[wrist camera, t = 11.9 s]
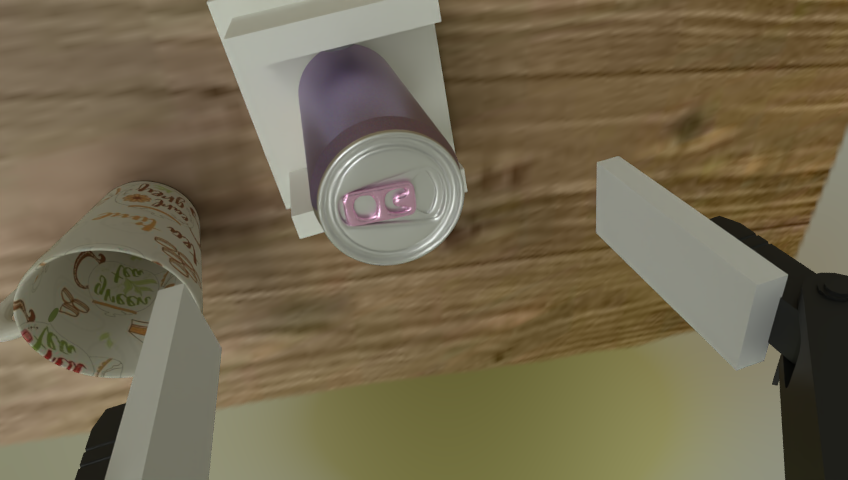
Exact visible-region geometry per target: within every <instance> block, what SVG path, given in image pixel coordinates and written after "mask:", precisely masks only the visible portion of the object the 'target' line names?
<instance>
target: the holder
mask: <svg viewBox="0 0 848 480" xmlns="http://www.w3.org/2000/svg"><path fill="white" fill-rule="evenodd" d="M207 5H208V7H209V10H210V12H211V15H212V18H213V20H214V23H215V25H216V28H217V31H218V33H219V36H220V38H221V41H222V44H223V46H224V49H225V51H226V54H227V57H228V59H229V62H230V64H231V67H232V69H233V72H234V75H235V77H236V80H237V82H238V85H239V88H240V90H241V93H242V95H243V98H244V101H245V103H246V106H247V108H248V111H249V114H250V116H251V119H252V121H253V124H254V127H255V129H256V132H257V134H258V137H259V140H260V142H261V145H262V147H263V150H264V153H265V155H266V158H267V160H268V163H269V165H270V168H271V171H272V173H273V176H274V178H275V181H276V184H277V186H278V189H279V191H280V194H281V197H282V199H283V202H284V204H285V207H286V209H289V208H291V217H292V220H293V222H294V225H295V227H296V230H297V233H298V235H299V238H300V239H302V238H305V237H309V236H312V235H316V234H319V233H323V232H324V230H323V228H322V226H321V225H320V223H319V222H318V220H317V218H316V216H315V214H314V211H313V208H312V204H311V198H310V189H309V181H308V173H307V164H306V156H305V148H304V139H303V131H302V123H301V114H300V106H299V97H298V89H299V82H300V79H301V76H302V73H303V71H304V69H305V68H306V66H307V64H308V63H309V62H310V61H311V60H312V59H313V58H314V57H315V56H316V55H317V54H318V53H320V52H321V51H325V52H333V51H339V50H343V49H346V48H349V47H351V46H353V45H354V44H357V45H361V46H364V47H367V48H369V49H371V50H373V51H375V52H376V53H378V54H379V55H380V56H381V57H383V58H384V59H385V60H386V62H387V63H388V64H389V65H390V67H391V68H392V69H393V71H394V72H395V73H396V75H397V76H398V77H399V79H400V80H401V81H402V82H403V84H404V85H405V86H406V88H407V89H408V90H409V92H410V93H411V94H412V96H413V97H414V98H415V99H416V101H417V102H418V103H419V105H420V106H421V107H422V109H423V110H424V111H425V113H426V114H427V115H428V116H429V118H430V119H431V120H432V122H433V123H434V124H435V126H436V127H437V128H438V130H439V131H440V132H441V134H442V135H443V136H444V137H445V139H446V140H447V141H448V143H449V144H450V145H451V147H452V149H453V150H454V152H455V149H454V142H453V136H452V130H451V124H450V117H449V111H448V105H447V99H446V93H445V86H444V80H443V74H442V68H441V61H440V55H439V49H438V43H437V37H436V30H435V24H434V23H438V22H441V16H440V9H439V3H438V0H208V1H207ZM458 162H459V161H458ZM459 166H460V171H461V174H462V177H463V182H464V192H467V185H466V179H465V172H464V168H463V167H462V165H461V164H460V163H459Z"/></svg>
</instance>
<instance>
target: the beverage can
mask: <svg viewBox="0 0 848 480" xmlns="http://www.w3.org/2000/svg"><path fill="white" fill-rule="evenodd" d="M298 97H299V106H300V114H301V123H302V131H303V139H304V148H305V156H306V164H307V173H308V181H309V189H310V198H311V204H312V208H313V211H314V214H315V216H316V218H317V220H318V222H319V223H320V225H321V226H322V228H323V230H324V232H325V234H326V236H327V237H328V238H329V240H330V241H331V242H332V243H333V245H334V246H335V247H337V248H338V249H339V250H340V251H341V252H343V253H344V254H346V255H347V256H349V257H351V258H353V259H355V260H358V261H361V262H364V263H368V264H373V265H397V264H402V263H406V262H410V261H413V260H415V259H418V258H420V257H422V256H424V255H426V254H427V253H429V252H431V251H432V250H433V249H435V248H436V247H437V246H439V245H440V244H441V243H442V242H443V241H444V240H445V239H446V238H447V237H448V235H449V234H450V233H451V231H452V230H453V228H454V227H455V225H456V223H457V221H458V219H459V217H460V214H461V211H462V208H463V203H464V182H463V177H462V174H461V171H460V166H459V162H458V159H457V157H456V154H455V152H454V150H453V149H452V147H451V145H450V144H449V143H448V141H447V140H446V139H445V137H444V136H443V135H442V134H441V132H440V131H439V130H438V128H437V127H436V126H435V124H434V123H433V122H432V120H431V119H430V118H429V116H428V115H427V114H426V113H425V111H424V110H423V109H422V107H421V106H420V105H419V103H418V102H417V101H416V99H415V98H414V97H413V96H412V94H411V93H410V92H409V90H408V89H407V88H406V86H405V85H404V84H403V82H402V81H401V80H400V79H399V77H398V76H397V75H396V73H395V72H394V71H393V69H392V68H391V67H390V65H389V64H388V63H387V62H386V60H385V59H384V58H383V57H381V56H380V55H379V54H378V53H376V52H375V51H373V50H371V49H369V48H367V47H364V46H361V45H357V44H354V45H353V46H351V47H349V48H346V49H343V50H339V51H333V52H325V51H321V52H320V53H318V54H317V55H316V56H315V57H314V58H313V59H312V60H311V61H310V62H309V63H308V64H307V66H306V68H305V69H304V71H303V73H302V76H301V79H300V82H299V89H298Z"/></svg>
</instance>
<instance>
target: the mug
mask: <svg viewBox="0 0 848 480" xmlns="http://www.w3.org/2000/svg"><path fill="white" fill-rule="evenodd" d="M183 283H185V285H186V287H187V288H188V290H189V292H190V294H191V295H192V297H193V299H194V301H195V302H196V304H197V306H198V308H199V309H200V311H201V313H202V314H203V298H202V268H201V238H200V222H199V218H198V214H197V212H196V210H195V208H194V206H193V205H192V204H191V202H190V201H189V200H188V199H187V198H186V197H185V196H184V195H182V194H181V193H180V192H178V191H177V190H175V189H173V188H171V187H169V186H166V185H163V184H160V183H156V182H148V181H138V182H131V183H127V184H124V185H121V186H119V187H117V188H115V189H114V190H112V191H111V192H109V193H108V194H107V195H106V196H105V197H104V198H103V199H102V200H101V201H100V202H98V203H97V204H96V205H95V206H94V207H93V208H92V209H91V210H90V211H89V212H88V213H87V214H86V215H85V216H84V217H83V218H82V219H81V220H80V221H79V222H77V223H76V224H75V225H74V226H73V227H72V228H71V229H70V230H69V231H68V232H67V233H66V234H65V235H64V236H63V237H62V238H61V239H60V240H59V241H58V242H56V243H55V244H54V245H53V246H52V247H51V248H50V249H49V250H48V251H47V252H46V253H45V254H44V255H43V256H42V257H41V258H40V259H39V260H38V261H37V262H36V263H35V264H34V265H33V266H32V267H31V268H30V269H29V270H28V272H27V273H26V274H25V275H24V277H23V278H22V280H21V281H20V283H19V285H18V287H17V289H15V290H14V291H13V292H12V293H11V294H10V295H9V296H8V297H7V298H5V299H4V300H3V301H2V302H1V303H0V342H4V341H10V340H13V339H16V338H19V337H22V336H23V337H24V339H25V340H26V341H27V342H28V344H29V345H30V346H31V347H32V348H33V349H34V350H35V351H37V352H38V353H39V354H40V355H42V356H43V357H45V358H46V359H48V360H49V361H51V362H53V363H55V364H57V365H59V366H61V367H63V368H65V369H68V370H71V371H74V372H77V373H81V374H85V375H89V376H95V377H104V378H127V377H134V374H135V370H136V367H137V363H138V360H139V356H140V352H141V349H142V345H143V342H144V338H145V335H146V331H147V328H148V324H149V321H150V317H151V314H152V310H153V306H154V303H155V299H156V296H157V292H158V291H159V290H162V289H166V288H169V287H172V286H176V285H179V284H183ZM13 314H14V318H15V321H13V320H12V316H13Z"/></svg>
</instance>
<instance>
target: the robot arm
mask: <svg viewBox="0 0 848 480" xmlns="http://www.w3.org/2000/svg"><path fill="white" fill-rule="evenodd" d="M596 233H597V234H598V235H599V236H600V237H601V238H602V239H603V240H604V241H605V242H606V243H607V244H608V245H609V246H610V247H611V248H612V249H613V250H614V251H615V252H616V253H617V254H618V255H619V256H620V257H621V258H622V259H623V260H624V261H625V262H626V263H627V264H628V265H629V266H630V267H631V268H632V269H633V270H634V271H635V272H637V273H638V274H639V275H640V276H641V277H642V278H643V279H644V280H645V281H646V282H647V283H648V284H649V285H650V286H651V287H652V288H653V289H654V290H655V291H656V292H657V293H658V294H659V295H660V296H661V297H662V298H663V299H664V300H665V301H666V302H667V303H668V304H669V305H670V306H671V307H672V308H673V309H674V310H675V311H676V312H677V313H678V314H679V315H680V316H681V317H682V318H683V319H684V320H685V321H686V322H687V323H688V324H689V325H690V326H692V327H693V328H694V329H695V330H696V331H697V332H698V333H699V334H700V335H701V336H702V337H703V338H704V339H705V340H706V341H707V342H708V343H709V344H710V345H711V346H712V347H713V348H714V349H715V350H716V351H717V352H718V353H719V354H720V355H721V356H722V357H723V358H724V359H725V360H726V361H727V362H728V363H729V364H730V365H731V366H732V367H733V368H734V369H735V370H739V369H742V368H745V367H748V366H751V365H753V364H756V363H759V362H762V361H764V359H765V355H766V352H767V348H768V345H769V344H771V345H772V346H773V347H774V348H775V349H776V350H778V351H779V352H780V353H781V356H780V359H779V363H778V366H777V369H776V373H775V376H774V379H773V383H772V384H773V385H778V382H779V381H780V398H781V416H782V432H783V447H784V448H783V449H784V466H785V480H848V276H846V275H841V274H837V273H818V274H816V273H814V272H813V271H811V270H810V269H808V268H807V267H805V266H804V265H802V264H801V263H799V262H798V261H796V260H795V259H793V258H792V257H790V256H789V255H787V254H786V253H784V252H783V251H781V250H780V249H778V248H777V247H775V246H774V245H772V244H768V241H766V240H765V239H763V238H762V237H760V236H759V235H758V236H756V234H755V233H754V232H753V231H751V230H750V229H748V228H747V227H745V226H744V225H742V224H741V223H738V222H735V221H733V220H730V219H727V218H724V217H721V216H718V217H715V218H711V219H708V218H707V217H705V216H704V215H702V214H701V213H699V212H698V211H697V210H695V209H694V208H692V207H691V206H689V205H688V204H687V203H685V202H684V201H682V200H681V199H679V198H678V197H677V196H675V195H674V194H672V193H671V192H669V191H668V190H667V189H665V188H664V187H662V186H661V185H659V184H658V183H657V182H655V181H654V180H652V179H651V178H649V177H648V176H647V175H645V174H644V173H642V172H641V171H639V170H638V169H637V168H635V167H634V166H632V165H631V164H630V163H628V162H627V161H625V160H624V159H622V158H621V157H620V156H617V157H614V158H610V159H607V160H603V161H600V162H597V197H596ZM221 351H222V348H221V346H220V344H219V342H218V341H217V339H216V337H215V335H214V334H213V332H212V330H211V328H210V327H209V325H208V323H207V322H206V320H205V318H204V316H203V315H202V313H201V311H200V309H199V308H198V306H197V304H196V302H195V301H194V299H193V297H192V295H191V294H190V292H189V290H188V288H187V287H186V285H185V283H183V284H179V285H176V286H172V287H169V288H166V289H162V290H159V291H158V292H157V296H156V299H155V303H154V306H153V310H152V314H151V317H150V321H149V324H148V328H147V331H146V335H145V338H144V342H143V345H142V349H141V352H140V356H139V360H138V363H137V367H136V370H135V374H134V377H133V381H132V384H131V388H130V391H129V395H128V398H127V402H126V403H125V404H122V405H118V406H115V407H112V408H109V409H106V410H105V412H104V413H103V414H102V416H101V417H100V419H99V420H98V421H97V423H96V424H95V426H94V427H93V428H92V430H91V433H90V436H89V439H88V442H87V445H86V448H85V449H86V452H85V453H84V454H83V457H82V460H81V463H80V467H81V468H80V469H78V472H77V475H76V478H75V480H209V470H210V459H211V450H212V440H213V430H214V420H215V410H216V400H217V390H218V380H219V370H220V361H221Z"/></svg>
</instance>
